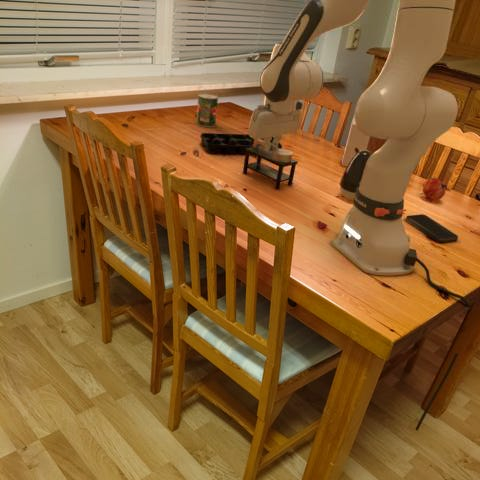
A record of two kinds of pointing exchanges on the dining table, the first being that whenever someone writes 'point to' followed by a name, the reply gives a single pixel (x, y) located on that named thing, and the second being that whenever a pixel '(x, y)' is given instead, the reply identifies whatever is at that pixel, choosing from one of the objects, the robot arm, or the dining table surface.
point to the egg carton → (228, 143)
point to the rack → (267, 170)
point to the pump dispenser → (354, 174)
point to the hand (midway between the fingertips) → (270, 149)
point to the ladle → (275, 152)
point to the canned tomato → (207, 110)
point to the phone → (431, 228)
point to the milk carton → (354, 143)
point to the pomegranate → (433, 189)
